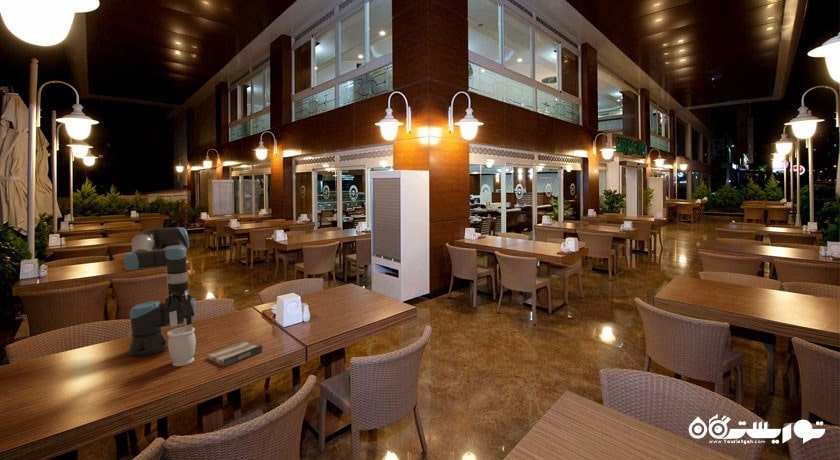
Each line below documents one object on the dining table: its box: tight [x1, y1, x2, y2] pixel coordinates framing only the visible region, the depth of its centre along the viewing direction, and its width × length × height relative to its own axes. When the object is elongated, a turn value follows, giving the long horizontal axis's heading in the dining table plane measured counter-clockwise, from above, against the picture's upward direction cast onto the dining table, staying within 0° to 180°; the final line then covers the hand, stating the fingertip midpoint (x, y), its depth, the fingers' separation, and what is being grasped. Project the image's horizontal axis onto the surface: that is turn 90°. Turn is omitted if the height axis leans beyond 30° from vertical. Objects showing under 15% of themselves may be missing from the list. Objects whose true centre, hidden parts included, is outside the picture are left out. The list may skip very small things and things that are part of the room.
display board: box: [206, 340, 263, 368], centre depth 175 cm, size 15×18×3 cm
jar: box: [166, 326, 197, 367], centre depth 167 cm, size 11×10×15 cm
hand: (181, 328), depth 166 cm, fingers open, 13 cm apart
